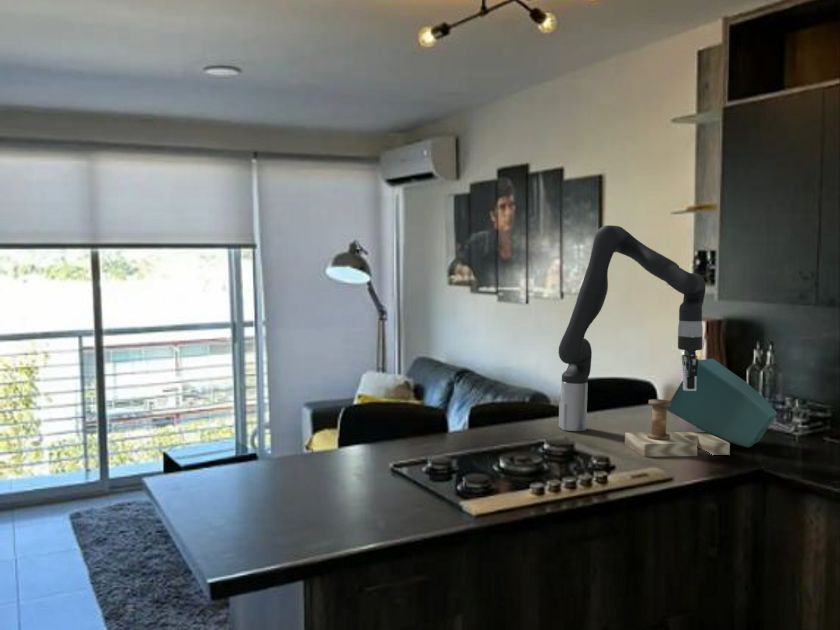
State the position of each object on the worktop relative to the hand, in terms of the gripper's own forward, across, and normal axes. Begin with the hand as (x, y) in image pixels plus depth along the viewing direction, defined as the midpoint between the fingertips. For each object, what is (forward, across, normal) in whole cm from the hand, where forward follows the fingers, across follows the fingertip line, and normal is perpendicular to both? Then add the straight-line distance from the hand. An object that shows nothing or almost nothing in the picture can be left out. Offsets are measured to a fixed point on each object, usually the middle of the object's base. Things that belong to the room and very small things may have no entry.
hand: (689, 387), depth 244 cm
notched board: (+20, +1, -4) cm, 21 cm away
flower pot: (+15, -7, +25) cm, 30 cm away
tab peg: (+1, 0, 0) cm, 1 cm away
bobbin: (+16, +3, -10) cm, 19 cm away
